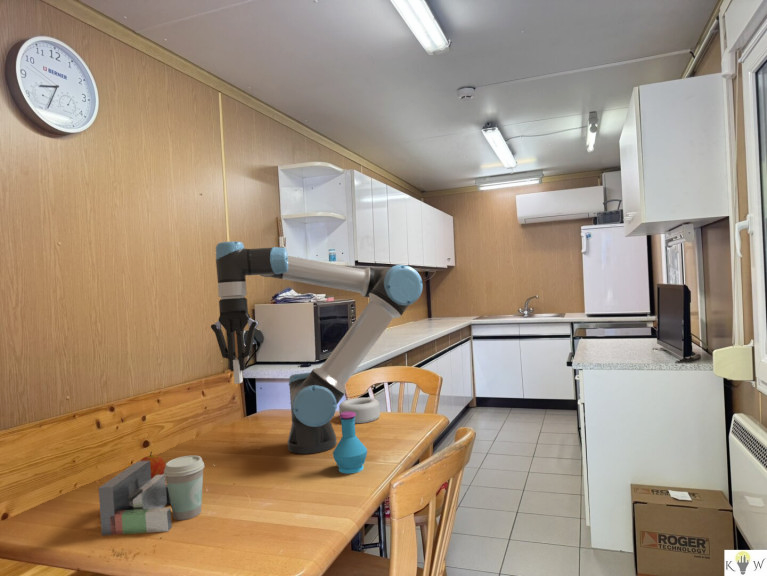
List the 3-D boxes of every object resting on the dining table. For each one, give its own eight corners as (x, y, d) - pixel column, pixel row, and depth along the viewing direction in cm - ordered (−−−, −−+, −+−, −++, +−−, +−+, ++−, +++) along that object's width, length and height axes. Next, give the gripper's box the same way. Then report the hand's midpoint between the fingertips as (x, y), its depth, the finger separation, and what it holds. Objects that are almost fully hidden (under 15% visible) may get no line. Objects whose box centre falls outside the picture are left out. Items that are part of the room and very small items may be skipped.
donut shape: (342, 426, 176) (341, 407, 176) (337, 416, 191) (336, 399, 191) (383, 421, 179) (382, 403, 179) (376, 412, 194) (374, 395, 194)
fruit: (147, 488, 129) (145, 457, 129) (132, 484, 133) (130, 454, 133) (171, 478, 135) (169, 449, 135) (156, 475, 139) (154, 446, 139)
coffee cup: (193, 523, 107) (190, 467, 107) (158, 522, 108) (154, 467, 108) (214, 506, 115) (211, 454, 115) (181, 505, 117) (178, 454, 117)
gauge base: (197, 499, 120) (195, 457, 120) (167, 531, 104) (164, 483, 104) (140, 502, 120) (137, 461, 120) (101, 535, 104) (98, 487, 104)
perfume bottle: (373, 463, 136) (369, 409, 136) (360, 476, 127) (356, 417, 127) (342, 462, 139) (338, 408, 139) (328, 474, 130) (324, 417, 130)
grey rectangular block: (167, 503, 118) (165, 472, 118) (136, 532, 103) (134, 497, 104) (129, 506, 118) (127, 475, 118) (93, 535, 104) (91, 500, 104)
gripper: (259, 296, 142) (265, 378, 141) (214, 299, 142) (220, 381, 142) (252, 296, 134) (258, 383, 134) (204, 299, 134) (210, 386, 134)
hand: (238, 382), depth 138 cm, fingers closed
